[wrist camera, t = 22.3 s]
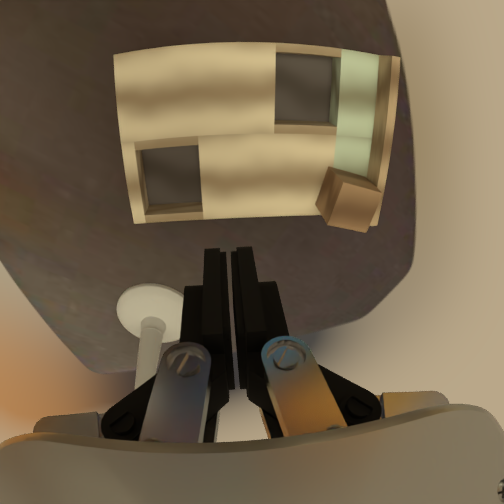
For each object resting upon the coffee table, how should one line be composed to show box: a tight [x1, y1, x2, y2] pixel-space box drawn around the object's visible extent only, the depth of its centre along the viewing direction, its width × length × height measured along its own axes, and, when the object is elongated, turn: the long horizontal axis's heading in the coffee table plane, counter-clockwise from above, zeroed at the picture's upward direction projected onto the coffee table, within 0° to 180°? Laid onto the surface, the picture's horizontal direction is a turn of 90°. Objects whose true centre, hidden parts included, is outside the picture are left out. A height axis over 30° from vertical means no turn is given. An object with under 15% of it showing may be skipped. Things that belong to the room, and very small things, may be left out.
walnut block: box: [315, 166, 383, 233], centre depth 34 cm, size 5×5×5 cm
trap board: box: [114, 42, 400, 226], centre depth 32 cm, size 20×29×6 cm
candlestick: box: [117, 283, 184, 389], centre depth 36 cm, size 13×13×30 cm
